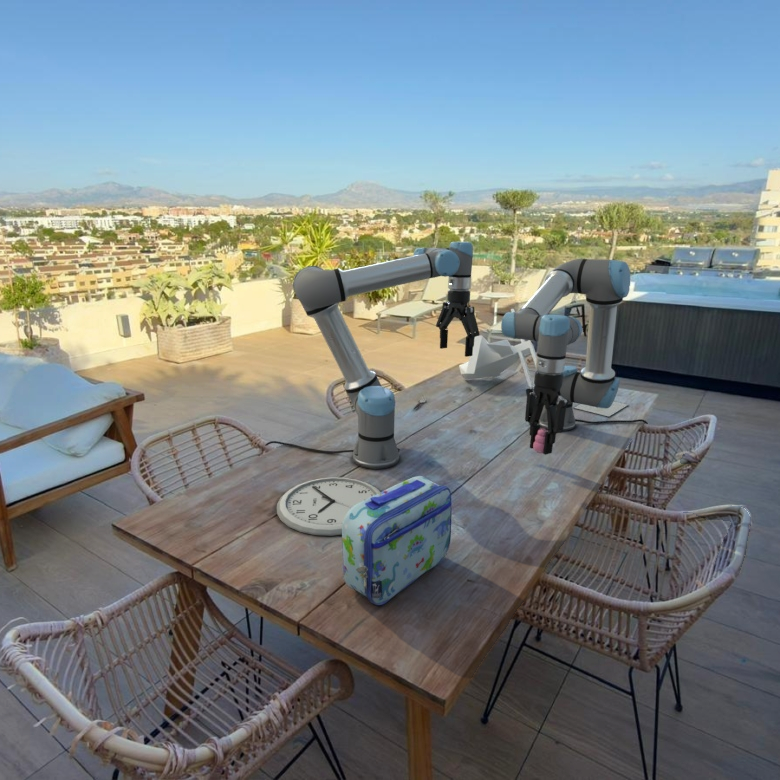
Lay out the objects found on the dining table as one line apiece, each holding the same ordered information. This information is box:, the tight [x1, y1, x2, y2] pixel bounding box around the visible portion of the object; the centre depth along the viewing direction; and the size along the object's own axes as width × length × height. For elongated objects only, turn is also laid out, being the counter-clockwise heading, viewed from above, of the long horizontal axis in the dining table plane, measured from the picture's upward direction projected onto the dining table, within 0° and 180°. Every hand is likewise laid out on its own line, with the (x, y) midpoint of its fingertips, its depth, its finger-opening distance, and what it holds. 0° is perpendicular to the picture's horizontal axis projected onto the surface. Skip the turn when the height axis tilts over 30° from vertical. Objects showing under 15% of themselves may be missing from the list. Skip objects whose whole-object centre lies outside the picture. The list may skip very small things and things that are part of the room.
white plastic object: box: [458, 308, 537, 388], centre depth 254 cm, size 37×45×31 cm
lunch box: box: [341, 475, 453, 606], centre depth 111 cm, size 26×11×21 cm, turn 134°
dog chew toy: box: [532, 427, 548, 454], centre depth 149 cm, size 4×4×7 cm
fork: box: [413, 394, 428, 410], centre depth 224 cm, size 3×16×2 cm, turn 160°
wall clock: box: [276, 476, 382, 537], centre depth 142 cm, size 30×2×30 cm
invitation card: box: [573, 400, 629, 418], centre depth 226 cm, size 21×1×15 cm
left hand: (455, 352), depth 181 cm, fingers open, 13 cm apart
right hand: (540, 449), depth 150 cm, fingers closed on dog chew toy, 4 cm apart
